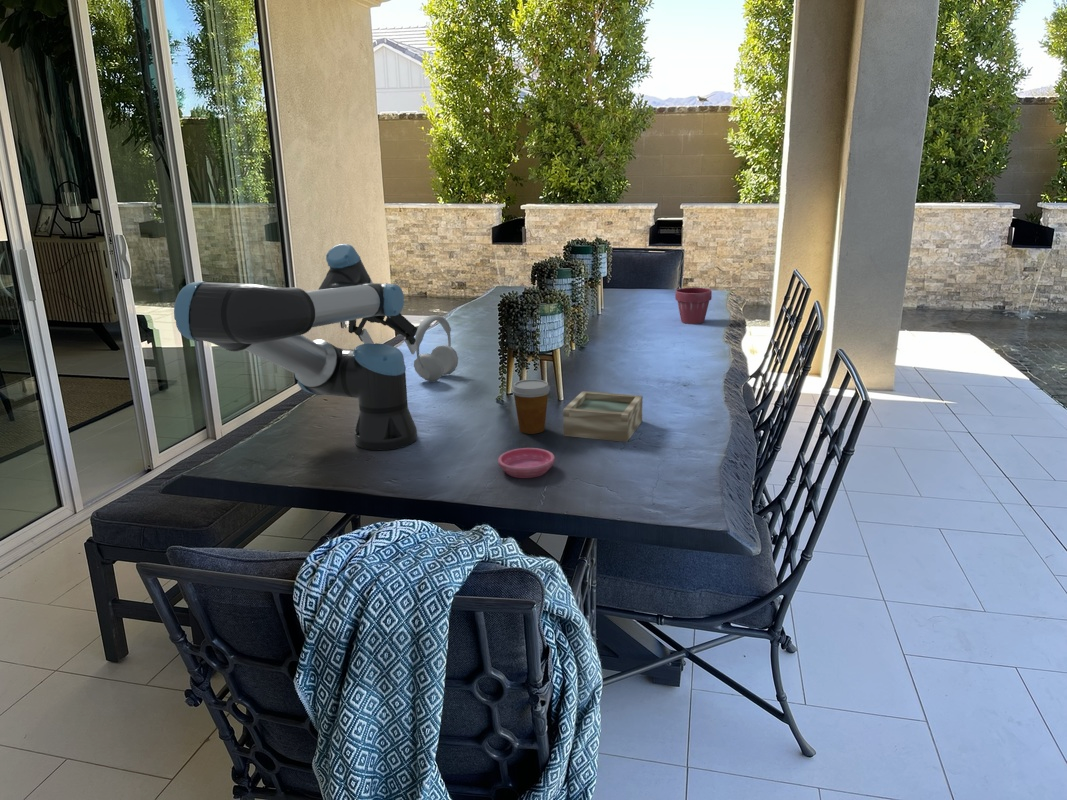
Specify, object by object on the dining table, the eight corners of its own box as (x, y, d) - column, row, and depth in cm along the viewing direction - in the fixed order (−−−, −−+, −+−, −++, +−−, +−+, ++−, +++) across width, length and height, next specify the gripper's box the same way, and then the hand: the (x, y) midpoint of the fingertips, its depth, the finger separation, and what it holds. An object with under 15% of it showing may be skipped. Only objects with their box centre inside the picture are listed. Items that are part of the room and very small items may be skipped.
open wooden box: (627, 442, 191) (627, 415, 189) (563, 435, 196) (563, 409, 194) (642, 421, 205) (642, 395, 203) (582, 415, 211) (582, 391, 209)
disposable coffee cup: (505, 429, 202) (503, 384, 198) (534, 421, 208) (533, 376, 204) (529, 439, 195) (528, 391, 191) (558, 429, 201) (557, 383, 197)
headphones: (432, 388, 239) (428, 322, 233) (407, 385, 243) (402, 320, 237) (464, 373, 255) (461, 311, 249) (440, 370, 259) (436, 309, 253)
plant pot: (668, 320, 324) (669, 288, 320) (699, 317, 328) (700, 286, 324) (685, 326, 311) (686, 294, 307) (717, 323, 315) (718, 291, 311)
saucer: (487, 474, 175) (486, 461, 174) (519, 456, 185) (519, 443, 184) (534, 485, 168) (534, 472, 167) (565, 466, 178) (565, 453, 177)
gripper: (411, 286, 204) (437, 341, 220) (328, 283, 213) (359, 336, 229) (400, 308, 200) (428, 362, 216) (316, 304, 208) (349, 356, 225)
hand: (392, 349), depth 223 cm, fingers open, 13 cm apart
